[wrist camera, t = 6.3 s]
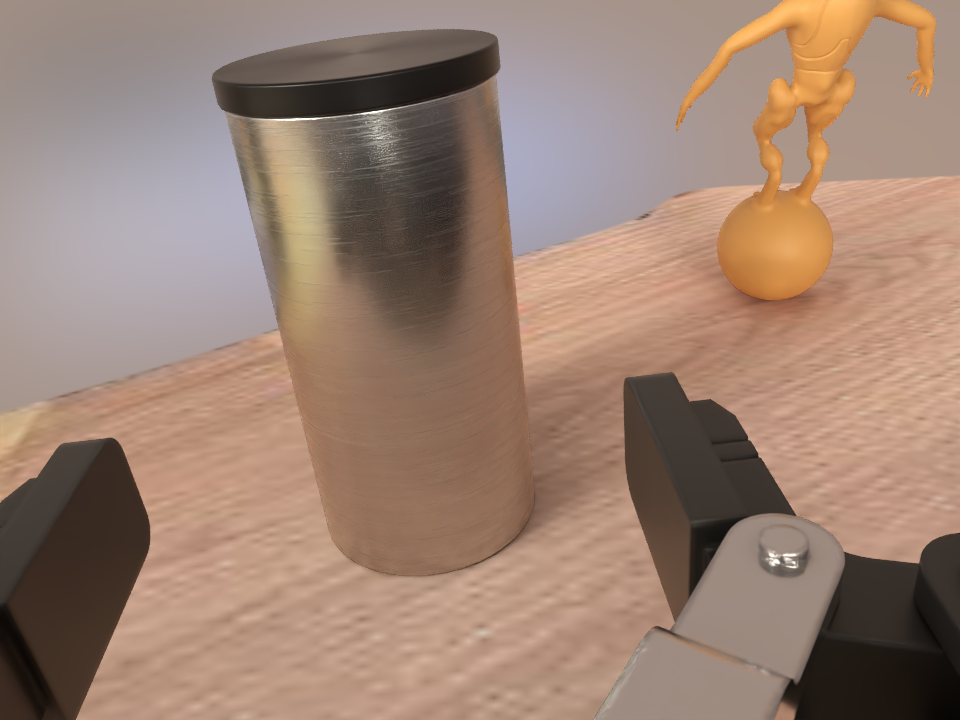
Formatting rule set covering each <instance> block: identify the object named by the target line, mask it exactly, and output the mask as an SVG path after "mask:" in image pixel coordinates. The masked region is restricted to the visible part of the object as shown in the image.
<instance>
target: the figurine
mask: <svg viewBox="0 0 960 720" xmlns="http://www.w3.org/2000/svg"><path fill="white" fill-rule="evenodd" d="M873 17H883V18H886V19H889V20H892V21H895V22H898V23H901V24H904V25H908V26H912V27H916V28H917V31H916V36H917V42H918V44H917V60H918V63H919V66H920V69H919V70H916V71H914V72H913V73H911V74H910V75H909V76H908V77H907V79H910V78H912V77H917V80H916V81H915V83H914V85H913V87H912V89H911V90H910V92H913V91H914V90H915V88H916V87H917V86H918V85H919V84H921V87H920V91H919V93H918V96H920V95H921V94H922V92H923V91H924V88H925V87H927V90H926V94H925V97H927V96H928V94H929V92H930V89H931V86H932V82H933V72H934V71H933V58H934V35H935V30H936V20H935V18H934V16H933V15H932V13H930V12H929V11H928V10H927V9H925V8H923V7H921V6H919V5H917V4H915V3H913V2H911V1H908V0H783V1H782V2H781V3H780V4H778V5H777V6H776V7H775V8H774V9H773V10H771V11H770V12H769V13H767V14H766V15H764V16H762V17H760V18H758V19H756V20H754V21H753V22H751V23H749V24H748V25H746V26H745V27H743V28H742V29H740V30H739V31H737V32H736V33H735V34H733V35H732V36H731V37H730V38H729V39H728V40H727V41H725V42H724V43H723V45H722V46H721V47H720V49H719V51H718V52H717V54H716V56H715V58H714V60H713V61H712V63H711V64H710V65H709V66H708V67H707V68H706V69H705V70H704V71H703V73H702V74H701V75H700V76H699V77H698V78H697V79H696V81H695V82H694V84H693V85H692V87H691V89H690V91H689V92H688V93H687V95H686V97H685V98H684V100H683V102H682V105H681V108H680V111H679V115H678V119H677V123H676V130H678V128H679V125H680V122H681V123H682V122H683V119H684V117H685V114H686V111H687V109H688V108H690V107H691V104H692V103H693V101H695V100H696V99H697V98H698V97H699V96H700V95H701V94H703V93H704V91H706V90H707V89H708V88H709V87H710V86H711V84H712V83H713V82H714V81H715V80H716V78H717V77H718V75H719V74H720V73H721V72H722V71H723V69H724V68H725V67H726V66H727V65H728V63H729V61H730V59H731V57H732V55H733V54H734V53H736V52H738V51H741V50H743V49H745V48H748V47H750V46H752V45H754V44H756V43H758V42H760V41H762V40H763V39H765V38H767V37H769V36H771V35H773V34H775V33H776V32H778V31H780V30H782V29H785V28H786V35H787V38H788V41H789V44H790V46H791V54H792V59H793V61H794V74H793V82H792V84H791V86H790V87H789V86H788V83H787V81H786V80H785V79H783V78H777V79H775V80H774V81H773V82H772V83H771V85H770V87H769V93H768V101H767V103H766V105H765V107H764V109H763V111H762V112H761V114H760V116H759V117H758V118H757V119H756V120H755V122H754V125H753V132H754V134H755V136H756V139H757V142H758V145H759V148H760V161H761V164H762V166H763V167H764V168H765V169H766V170H767V171H768V173H769V176H768V179H767V182H766V183H765V185H764V187H763V189H762V191H761V192H755V193H754V194H753V196H751V197H749V198H747V199H746V200H744V201H743V202H741V203H740V204H739V205H737V206H736V207H735V208H734V209H733V210H732V211H731V213H730V214H729V215H728V217H727V218H726V220H725V221H724V223H723V225H722V228H721V230H720V233H719V237H718V246H717V250H718V258H719V262H720V265H721V268H722V270H723V272H724V274H725V275H726V277H727V278H728V280H729V281H730V282H731V283H732V284H733V285H734V286H735V287H736V288H737V289H739V290H740V291H742V292H743V293H745V294H747V295H749V296H752V297H755V298H758V299H763V300H782V299H787V298H791V297H794V296H796V295H799V294H801V293H803V292H804V291H806V290H807V289H809V288H810V287H812V286H813V285H814V284H815V283H816V282H817V281H818V280H819V279H820V278H821V276H822V275H823V274H824V272H825V270H826V269H827V267H828V264H829V262H830V259H831V256H832V251H833V235H832V230H831V227H830V224H829V221H828V219H827V218H826V216H825V214H824V213H823V212H822V210H821V209H820V208H819V207H818V206H817V205H816V204H815V203H814V202H812V201H811V195H812V193H813V191H814V190H815V188H816V186H817V184H818V182H819V181H820V179H821V177H822V174H823V166H824V164H825V163H826V162H827V160H828V158H829V154H830V152H829V147H828V145H827V143H826V141H825V140H824V139H823V138H822V131H823V130H824V129H825V128H827V127H828V126H830V125H831V123H833V122H834V121H835V120H836V118H837V117H838V116H839V115H840V114H841V113H842V111H843V108H844V106H845V105H846V104H847V103H848V102H849V101H850V99H851V98H852V97H853V94H854V91H855V86H856V80H855V77H854V75H853V73H852V72H851V71H850V70H847V69H844V70H842V68H843V66H844V65H845V63H846V62H847V60H848V59H849V57H850V56H851V54H852V52H853V50H854V49H855V47H856V46H857V44H858V43H859V41H860V39H861V38H862V36H863V35H864V33H865V31H866V29H867V28H868V26H869V25H870V23H871V21H872V19H873ZM799 106H804V111H805V115H806V122H807V127H808V142H809V144H808V148H807V156H808V159H809V160H810V162H811V170H810V171H809V172H808V174H807V175H806V177H805V179H804V180H803V182H802V183H801V185H800V186H798V187H796V188H793V189H790V190H789V191H782V190H778V188H779V185H780V183H781V179H782V172H781V169H782V165H783V156H782V154H781V152H780V150H779V149H778V148H777V147H776V146H775V145H773V144H772V143H771V138H772V137H773V135H774V134H775V133H776V132H778V131H779V130H781V129H783V128H786V127H787V126H789V125H790V124H791V123H792V121H793V118H794V116H795V113H796V108H797V107H799Z"/></svg>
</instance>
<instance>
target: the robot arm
mask: <svg viewBox="0 0 960 720" xmlns="http://www.w3.org/2000/svg"><path fill="white" fill-rule="evenodd" d="M624 430H625V463H626V473H627V480H628V485H629V490H630V494H631V497H632V501H633V503H634V506H635V509H636V512H637V515H638V518H639V521H640V523H641V526H642V529H643V532H644V535H645V538H646V541H647V544H648V546H649V549H650V552H651V555H652V558H653V561H654V564H655V566H656V569H657V572H658V575H659V578H660V581H661V584H662V586H663V589H664V592H665V595H666V598H667V601H668V604H669V606H670V609H671V612H672V615H673V618H674V621H675V624H674V626H673V627H672V628H671V630H670V631H669V630H666V629H664V628H661V627H659V626H655V627H653V628H652V629H650V630H649V631H648V633H647V634H646V635H645V636H644V638H643V639H642V641H641V642H640V644H639V646H638V647H637V649H636V651H635V652H634V654H633V655H632V657H631V659H630V660H629V662H628V664H627V665H626V667H625V669H624V670H623V672H622V674H621V675H620V677H619V678H618V680H617V682H616V683H615V685H614V687H613V688H612V690H611V692H610V693H609V695H608V697H607V698H606V700H605V701H604V703H603V705H602V706H601V708H600V710H599V711H598V713H597V715H596V716H595V718H594V720H960V533H956V534H949V535H945V536H942V537H939V538H937V539H935V540H933V541H931V542H930V543H929V544H928V545H927V546H926V547H925V548H924V550H923V551H922V554H921V558H920V563H919V564H916V563H907V562H898V561H889V560H881V559H872V558H866V557H860V556H856V555H852V554H849V553H846V552H843V548H842V547H841V545H840V543H839V542H838V541H837V539H836V538H835V537H834V536H833V535H832V534H831V533H829V532H828V531H827V530H826V529H824V528H823V527H821V526H819V525H818V524H816V523H814V522H811V521H809V520H806V519H804V518H801V517H797V516H796V514H795V513H794V511H793V510H792V508H791V506H790V505H789V503H788V501H787V500H786V498H785V496H784V495H783V493H782V492H781V490H780V488H779V487H778V485H777V483H776V482H775V480H774V478H773V477H772V475H771V474H770V472H769V470H768V469H767V467H766V465H765V464H764V462H763V460H762V459H761V458H759V457H758V452H757V451H756V449H755V447H754V446H753V444H752V442H751V441H748V436H747V434H746V433H745V431H744V429H743V428H742V426H741V424H740V423H739V421H738V420H737V418H736V416H735V415H733V414H732V413H730V412H729V411H727V410H726V409H724V408H723V407H722V406H720V405H719V404H717V403H716V402H714V401H713V400H711V399H709V400H700V401H692V402H689V400H688V398H687V397H686V395H685V393H684V391H683V389H682V387H681V385H680V384H679V382H678V380H677V378H676V376H675V375H674V373H672V372H670V373H662V374H653V375H645V376H636V377H628V378H625V381H624ZM149 545H150V524H149V519H148V515H147V512H146V509H145V507H144V504H143V501H142V499H141V496H140V493H139V491H138V488H137V486H136V483H135V480H134V478H133V475H132V472H131V470H130V467H129V465H128V462H127V459H126V457H125V454H124V451H123V449H122V447H121V445H120V444H119V443H118V441H117V440H115V439H113V438H104V439H96V440H88V441H79V442H71V443H64V444H61V445H60V446H59V447H58V448H57V449H56V451H55V452H54V454H53V455H52V456H51V458H50V459H49V461H48V462H47V464H46V465H45V467H44V468H43V470H42V471H41V472H40V474H39V475H38V477H37V478H33V479H29V480H28V481H27V482H25V483H24V484H23V485H22V486H20V487H19V488H18V489H17V490H15V491H14V492H13V493H12V494H10V495H9V496H8V497H7V498H5V499H4V500H3V501H2V502H1V503H0V720H76V718H77V715H78V713H79V711H80V708H81V706H82V704H83V701H84V699H85V697H86V695H87V692H88V690H89V688H90V685H91V683H92V681H93V678H94V676H95V674H96V672H97V669H98V667H99V665H100V662H101V660H102V658H103V655H104V653H105V651H106V649H107V646H108V644H109V642H110V639H111V637H112V635H113V632H114V630H115V628H116V625H117V623H118V621H119V619H120V616H121V614H122V612H123V609H124V607H125V605H126V602H127V600H128V598H129V596H130V593H131V591H132V589H133V586H134V584H135V582H136V579H137V577H138V575H139V573H140V570H141V568H142V566H143V563H144V561H145V559H146V556H147V554H148V550H149Z"/></svg>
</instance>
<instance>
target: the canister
mask: <svg viewBox="0 0 960 720" xmlns="http://www.w3.org/2000/svg"><path fill="white" fill-rule="evenodd" d="M499 58H500V57H499V46H498V39H497V37H496V36H495V35H493V34H490V33H487V32H482V31H475V30H460V29H437V30H416V31H402V32H390V33H380V34H372V35H363V36H354V37H347V38H340V39H333V40H327V41H320V42H315V43H310V44H304V45H299V46H293V47H288V48H283V49H279V50H274V51H270V52H266V53H262V54H258V55H254V56H251V57H247V58H244V59H241V60H238V61H235V62H232V63H230V64H228V65H225V66H223V67H222V68H220V69H218V70H216V71H215V72H214V73H213V76H212V82H213V86H214V90H215V94H216V98H217V102H218V105H219V106H220V108H221V109H222V110H224V111H225V113H226V117H227V121H228V125H229V129H230V133H231V137H232V141H233V145H234V149H235V153H236V157H237V161H238V165H239V169H240V173H241V177H242V181H243V186H244V190H245V193H246V197H247V202H248V206H249V210H250V214H251V218H252V222H253V226H254V230H255V234H256V238H257V241H258V246H259V250H260V254H261V258H262V262H263V266H264V270H265V274H266V278H267V282H268V286H269V290H270V294H271V298H272V302H273V306H274V310H275V315H276V319H277V323H278V327H279V331H280V335H281V339H282V343H283V347H284V351H285V355H286V359H287V363H288V367H289V371H290V375H291V379H292V383H293V387H294V391H295V395H296V399H297V403H298V407H299V411H300V415H301V419H302V423H303V427H304V431H305V435H306V439H307V443H308V448H309V452H310V456H311V460H312V464H313V468H314V472H315V476H316V480H317V484H318V488H319V492H320V496H321V500H322V504H323V508H324V512H325V516H326V520H327V524H328V528H329V532H330V534H331V537H332V539H333V541H334V542H335V544H336V546H337V547H338V548H339V549H340V550H341V551H342V552H343V553H344V554H345V555H346V556H347V557H349V558H350V559H351V560H353V561H354V562H356V563H358V564H360V565H362V566H364V567H366V568H369V569H372V570H375V571H378V572H383V573H387V574H393V575H402V576H423V575H434V574H440V573H446V572H450V571H454V570H458V569H462V568H464V567H467V566H470V565H473V564H475V563H478V562H480V561H482V560H484V559H486V558H488V557H490V556H491V555H493V554H495V553H496V552H498V551H500V550H501V549H502V548H504V547H505V546H506V545H508V544H509V543H510V542H511V541H512V540H513V539H514V538H515V537H516V536H517V535H518V534H519V533H520V532H521V530H522V529H523V528H524V526H525V525H526V523H527V521H528V519H529V518H530V516H531V513H532V510H533V507H534V500H535V494H534V482H533V471H532V460H531V449H530V439H529V428H528V417H527V406H526V395H525V384H524V373H523V362H522V351H521V340H520V329H519V318H518V307H517V296H516V286H515V275H514V264H513V253H512V242H511V231H510V220H509V210H508V198H507V187H506V176H505V165H504V155H503V144H502V133H501V122H500V111H499V100H498V90H497V78H496V74H497V73H498V71H499V69H500V59H499Z"/></svg>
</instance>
